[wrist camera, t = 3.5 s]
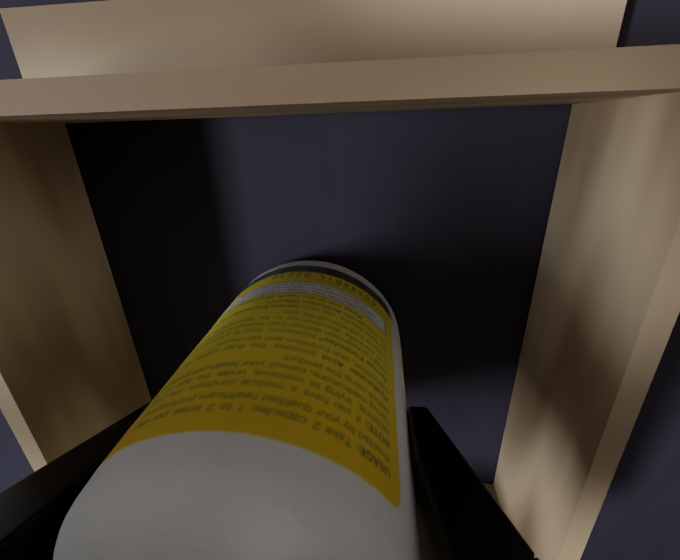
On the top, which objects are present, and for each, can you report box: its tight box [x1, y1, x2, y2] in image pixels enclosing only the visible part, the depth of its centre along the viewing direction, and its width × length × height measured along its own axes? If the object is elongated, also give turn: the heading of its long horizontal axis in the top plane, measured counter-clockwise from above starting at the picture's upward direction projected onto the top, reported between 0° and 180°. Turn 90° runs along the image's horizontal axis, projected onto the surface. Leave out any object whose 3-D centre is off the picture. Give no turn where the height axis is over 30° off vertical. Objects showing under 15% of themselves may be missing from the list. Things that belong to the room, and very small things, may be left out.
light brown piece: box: [0, 0, 680, 560], centre depth 10 cm, size 18×18×4 cm
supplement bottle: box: [53, 261, 421, 560], centre depth 7 cm, size 5×5×10 cm
